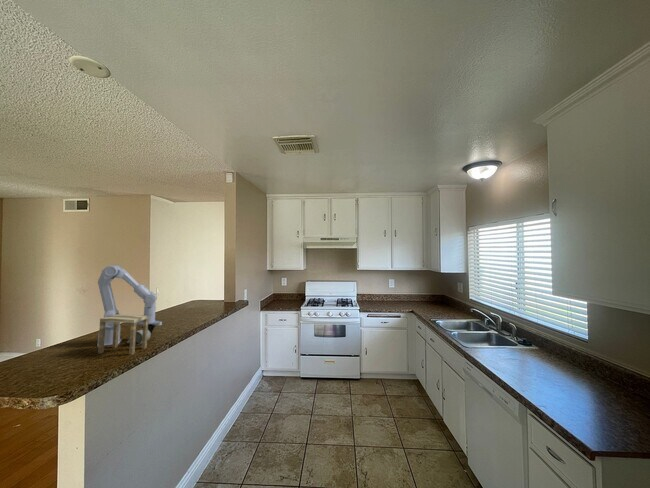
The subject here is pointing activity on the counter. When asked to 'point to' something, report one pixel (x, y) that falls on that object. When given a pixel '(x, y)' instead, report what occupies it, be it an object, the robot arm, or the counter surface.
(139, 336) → the ceramic mug
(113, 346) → the counter shelf
